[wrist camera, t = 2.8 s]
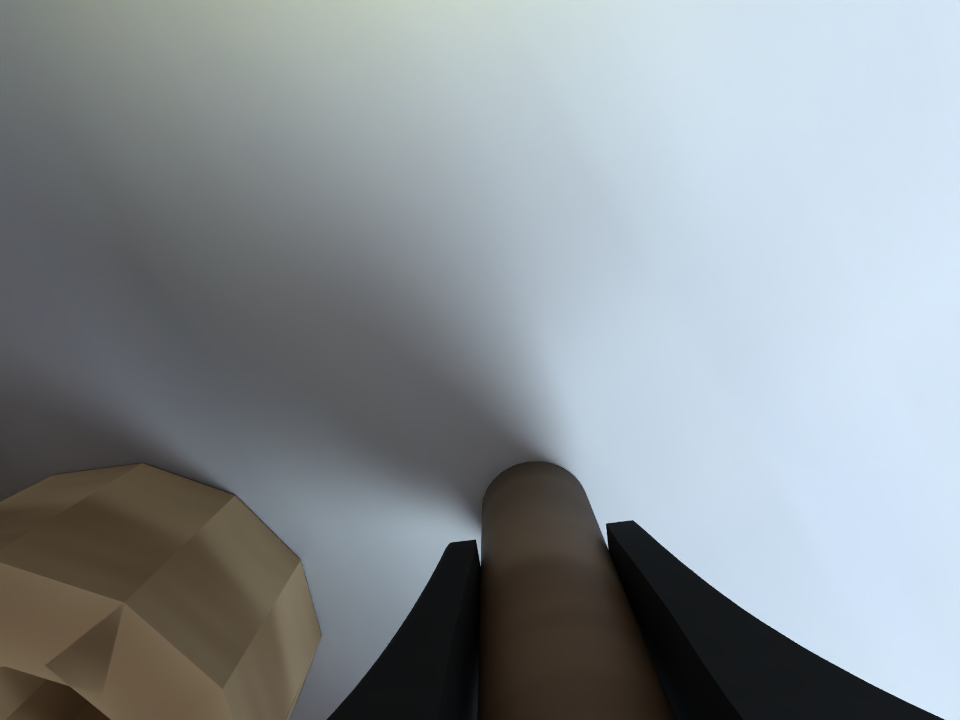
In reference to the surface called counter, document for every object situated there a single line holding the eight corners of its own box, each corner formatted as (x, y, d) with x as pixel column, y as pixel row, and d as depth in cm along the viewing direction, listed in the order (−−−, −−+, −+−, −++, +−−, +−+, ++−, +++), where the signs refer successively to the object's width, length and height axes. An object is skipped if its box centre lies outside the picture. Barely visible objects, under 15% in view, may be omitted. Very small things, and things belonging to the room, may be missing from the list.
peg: (592, 549, 13) (749, 996, 5) (490, 562, 13) (493, 1013, 5) (583, 455, 12) (746, 808, 5) (474, 469, 12) (452, 832, 5)
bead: (347, 727, 15) (296, 898, 11) (58, 757, 15) (-90, 931, 11) (268, 445, 12) (167, 534, 8) (-69, 491, 13) (-309, 595, 9)
